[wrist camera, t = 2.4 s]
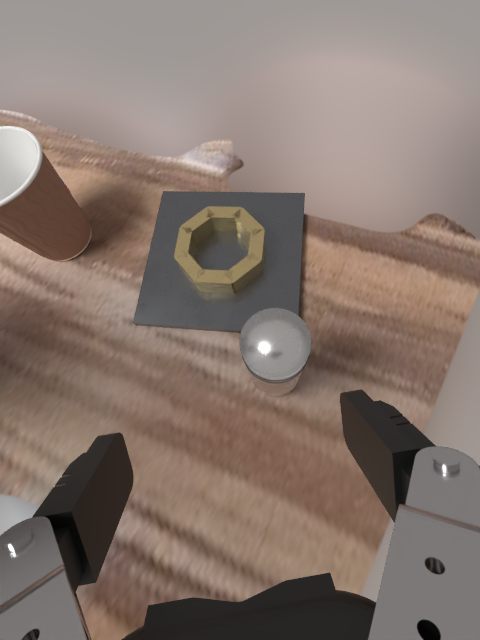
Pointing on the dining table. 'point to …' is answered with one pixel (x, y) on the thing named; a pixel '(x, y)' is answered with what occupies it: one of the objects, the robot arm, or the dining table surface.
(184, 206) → the collar plate
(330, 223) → the dining table surface
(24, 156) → the coffee cup
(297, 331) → the piston
